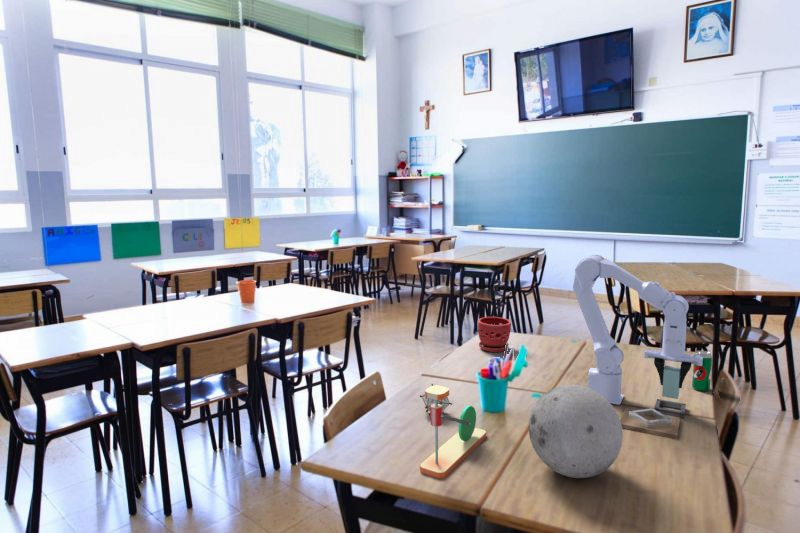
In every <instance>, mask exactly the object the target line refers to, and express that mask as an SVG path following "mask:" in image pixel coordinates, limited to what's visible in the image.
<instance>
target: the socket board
mask: <svg viewBox="0 0 800 533" xmlns="http://www.w3.org/2000/svg"><path fill="white" fill-rule="evenodd" d="M619 419H620V422H621V426H622V429H626V430H631V431H637V432H640V433H641V432H642V433H646V434H651V435H656V436H661V437H665V438H669V439H670V438H671V439H676V440H677V439H678V435H679V431H680V425H681V424H680V423H681V418H680V417H674V416H669V415H663V414H662V413H660V412H658V411H656V410H654V408H651V407H650V408H645V409H637V408H636V409H635V408H631V407H625V408H624V410H623V412H622V414H621V417H620V418H619Z"/></svg>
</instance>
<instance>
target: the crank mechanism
mask: <svg viewBox="0 0 800 533" xmlns="http://www.w3.org/2000/svg"><path fill="white" fill-rule="evenodd" d="M424 394H425V397H427V398H429V399H433V400H435V404H432V405H431V406H430V411H429V412H430V414H429V415H430V425H431V426H432V427H434V428H435V430H434V431H435V432H434V433H435V434H434V436H435V439H434V440H435V442H434V443H435V450H434V452H432V454H430V456H427V458H426V459H425V460H424V461H422V462H421V463H420V464H419V472H420V473H421V474H423V475H426V476H430V477H433V478H436V479H445V478H446V477H447V476H448V475H449V474H450V473H451V472H452V471H454V470H455V469H456V467H458V466H459V464H461V462H463V461H464V460H465V459H466V458H467V457H468V456H469V455H470V454H471V453H472V452H473V451H474V450H475V449H476V448H477V447H478V446H479V445H480V444H481V443H482V442H483V441H484V440H485V439H486V438H487V431H486V430H485V429H481V428H477V427H476V425H477V424H476V423H477V413H476V408H475V407H474V406H473V405H466V406H465V407H464V409H463V410H462V412H461V414H460V417H459V418H458V417H457V418H456V417H453V416H449V415H446V414H443V411H442V405H440V404H438V400H443V399H445V398H446V397H449V396H450V388H449V387H447V386H442V385H438V384H437V385H436V384H433V386H432V385H430V386H429V387H427V388H426V389H425V390H424ZM443 419H444V420H447V421H450V422H455V423H458V431H457V432H456V433H455V434H454V435H453V436H451V437H450V438H449V439H448V440H446V442H444V443H443V444H442V445H441V446H439V437H438V436H439V433H438V432H439V427H441V426H443Z"/></svg>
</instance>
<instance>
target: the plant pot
mask: <svg viewBox="0 0 800 533" xmlns="http://www.w3.org/2000/svg"><path fill="white" fill-rule="evenodd" d="M511 327H512V322H511V320H509V319H507V318H505V317H499V316H485V317H484V316H483V317H481V318H479V319H478V321H477V333H478V338H479V341H480V342H478V346H479V348H480V349H481V350H483V351H486V352H491V353H499V352H503V351H505V350H504V349H505V345H506V343H507V344H508V341H509V338H510V334H511V329H512V328H511Z"/></svg>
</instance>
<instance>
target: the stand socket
mask: <svg viewBox="0 0 800 533" xmlns="http://www.w3.org/2000/svg"><path fill="white" fill-rule="evenodd" d="M663 407H664V408H663ZM665 407H667V408H665ZM668 408H671V409H668ZM672 408H673V409H672ZM653 409H654V410H656V411H658V412H660V413H662V414H663V415H669V416H674V417H680V419H685V413H686V403H683V402H676V401H672V400H671V401H670V400H664V399H658V398H657V399H656V401H655V404H654V408H653ZM674 409H676V410H674ZM679 410H680V411H679Z"/></svg>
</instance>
